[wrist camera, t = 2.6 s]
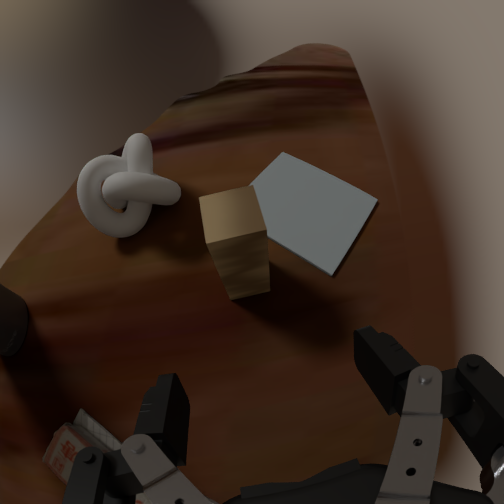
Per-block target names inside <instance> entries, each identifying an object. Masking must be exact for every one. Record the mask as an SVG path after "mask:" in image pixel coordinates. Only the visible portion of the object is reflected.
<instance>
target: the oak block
mask: <svg viewBox="0 0 504 504" xmlns="http://www.w3.org/2000/svg"><path fill="white" fill-rule="evenodd" d="M199 201H200V208H201V214H202V221H203V227H204V234H205V240H206V245H207V247H208V249H209V252H210V254H211V256H212V259H213V261H214V263H215V266H216V268H217V270H218V273H219V275H220V277H221V280H222V282H223V284H224V286H225V289H226V291H227V293H228V296H229V298H230V300H234V299H238V298H243V297H247V296H251V295H256V294H260V293H264V292H268V291H270V275H269V257H268V240H267V228H266V225H265V222H264V218H263V215H262V212H261V209H260V205H259V202H258V199H257V196H256V193H255V189H254V186H253V185H250V186H246V187H241V188H237V189H232V190H228V191H224V192H219V193H215V194H211V195H207V196H203V197H199Z"/></svg>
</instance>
